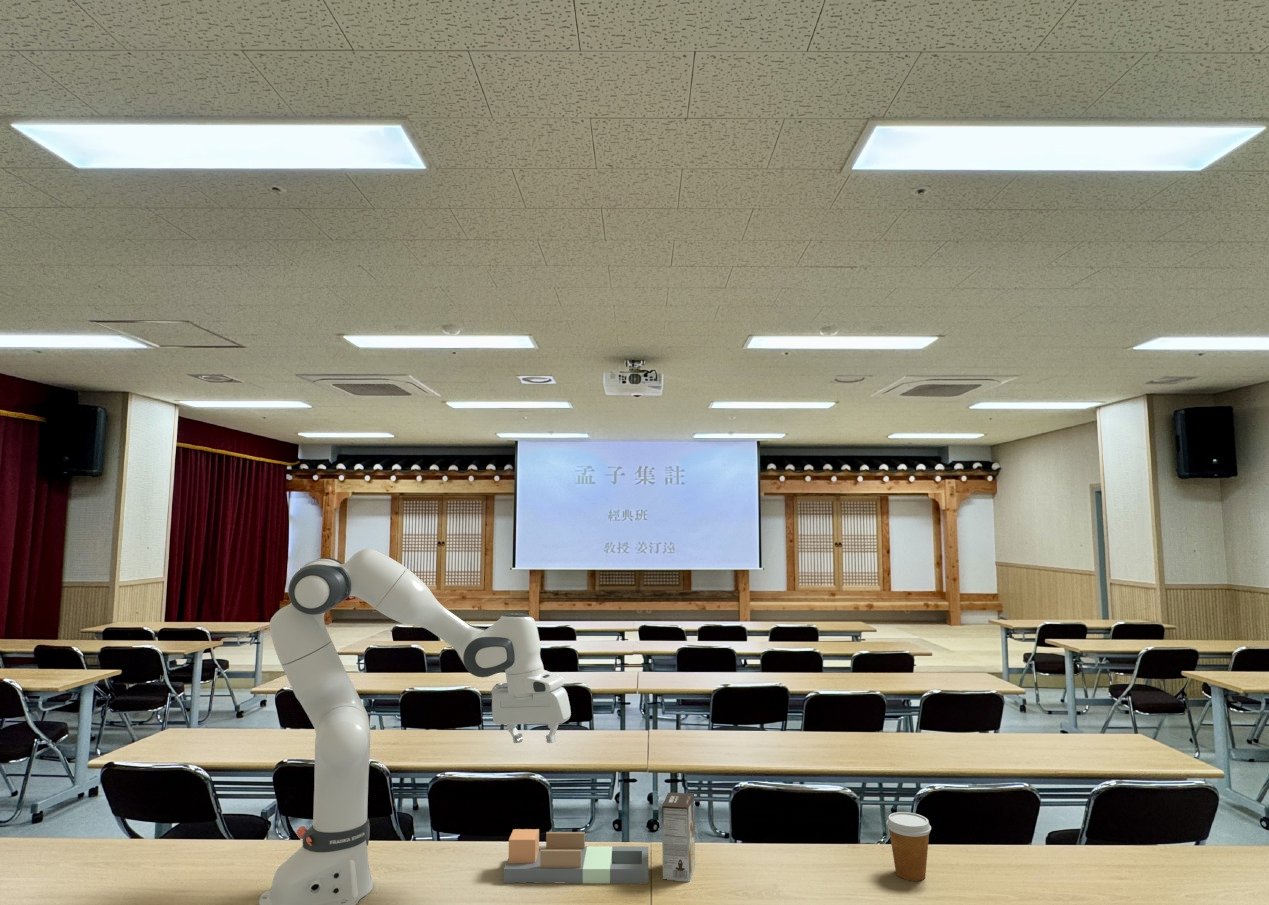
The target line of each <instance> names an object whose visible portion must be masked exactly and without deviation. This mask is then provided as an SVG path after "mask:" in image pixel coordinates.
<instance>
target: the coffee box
mask: <svg viewBox="0 0 1269 905" xmlns="http://www.w3.org/2000/svg"><path fill="white" fill-rule="evenodd" d="M661 820H662V822H661V823H662V824H661V830H662V833H661V834H662V836H661V837H662V839H661V840H662V844H661V845H662V847H661V849H662V880H663V879H667V880H666V881H673V880H677V881H676V882H685V883H687V882H688V883H689V882H691V879H692V876H693V872H694V869H695V866H696V842H695V841H696V840H695V839H696V836H695V834H696V832H695V827H696V826H695V825H696V824H695V793H688V792H687V793H684V792H683V793H682V792H667V794H666V797H665V799H664V802H663V803H662V805H661Z"/></svg>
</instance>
